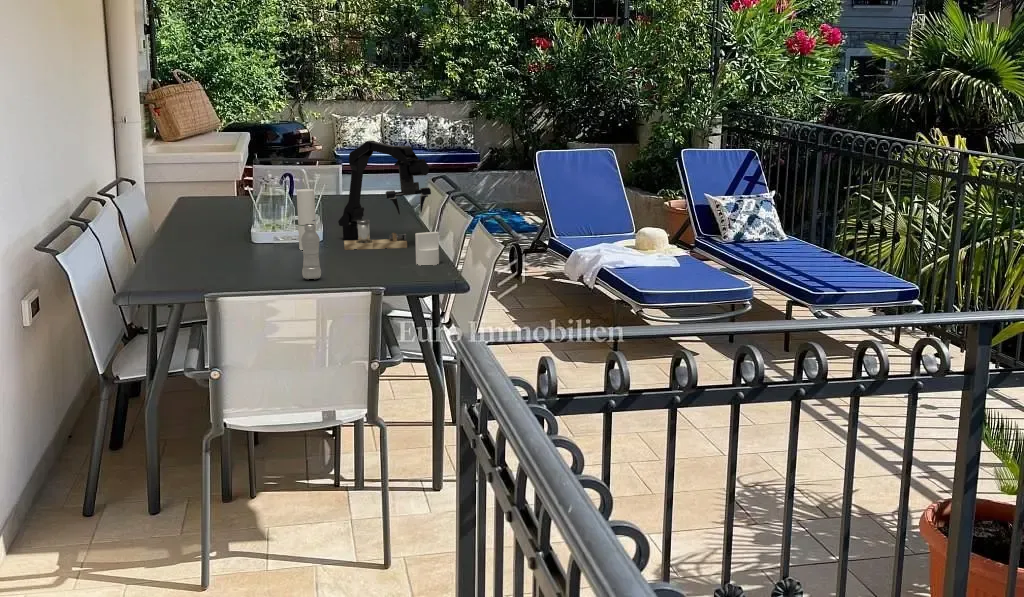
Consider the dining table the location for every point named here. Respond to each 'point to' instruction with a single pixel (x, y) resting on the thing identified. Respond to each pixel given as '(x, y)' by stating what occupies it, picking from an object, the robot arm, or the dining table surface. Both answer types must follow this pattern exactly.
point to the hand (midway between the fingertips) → (410, 213)
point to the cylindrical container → (305, 210)
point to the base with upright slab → (427, 248)
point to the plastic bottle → (310, 253)
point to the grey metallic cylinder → (363, 231)
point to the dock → (376, 244)
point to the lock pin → (398, 237)
